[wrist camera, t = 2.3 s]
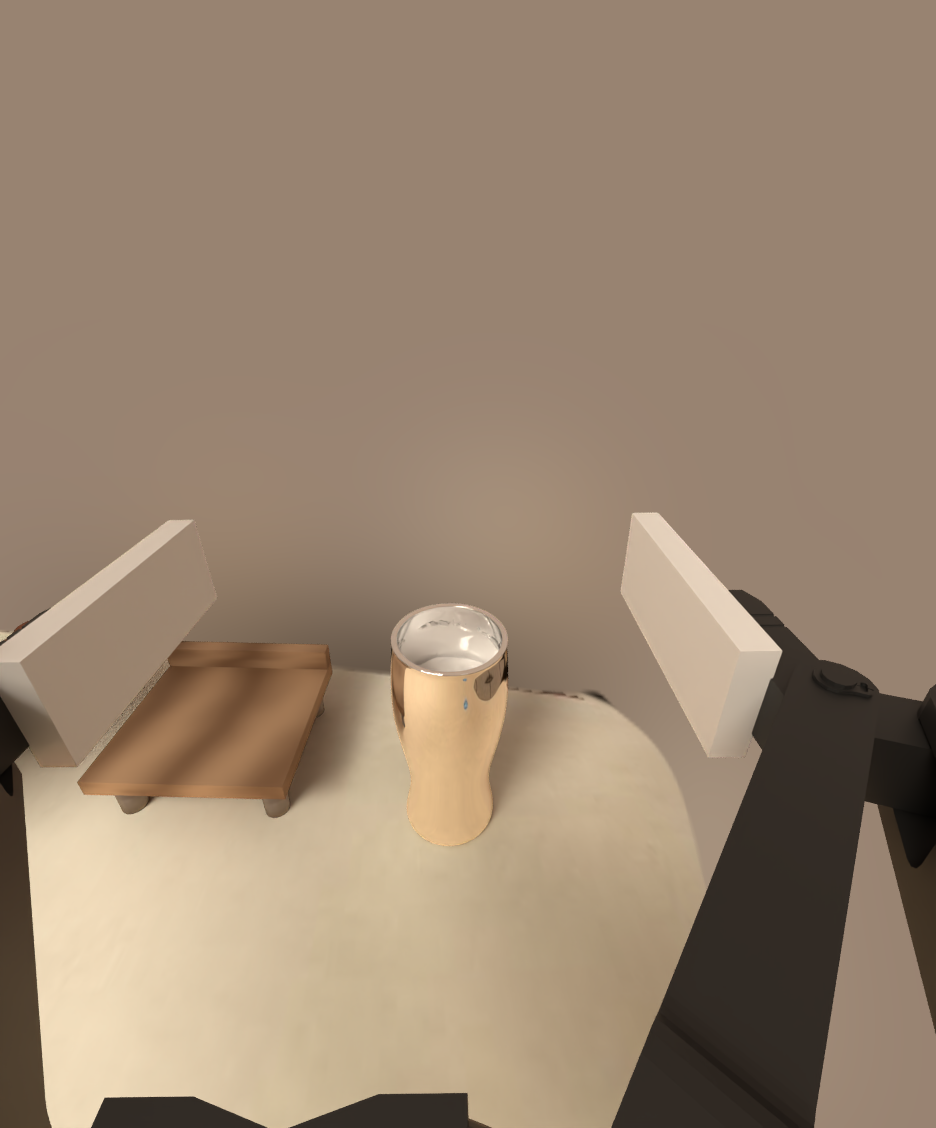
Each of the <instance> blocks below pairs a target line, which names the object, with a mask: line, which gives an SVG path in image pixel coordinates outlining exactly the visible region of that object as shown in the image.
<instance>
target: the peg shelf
mask: <svg viewBox="0 0 936 1128" xmlns="http://www.w3.org/2000/svg"><path fill="white" fill-rule="evenodd" d="M168 661H169V664H170V667H169V668H168V669H167V671H166V672H165V673H164V674H163V676H162V677H161V678H160V679H159V681H158V682H157V683H156V684H155V686H154V687H153V688H152V689H151V691H150V692H149V693H148V694H147V696H146V697H145V698H144V699H143V701H142V702H141V703H140V704H139V706H138V707H137V708H136V709H135V711H134V712H133V713H132V714H131V716H130V717H129V718H128V719H127V721H126V722H125V723H124V724H123V726H122V727H121V728H120V729H119V731H118V732H117V733H116V734H115V736H114V737H113V738H112V739H111V741H110V742H109V743H108V744H107V746H106V747H105V748H104V749H103V751H102V752H101V753H100V754H99V756H98V757H97V758H96V759H95V761H94V762H93V763H92V764H91V766H90V767H89V768H88V769H87V771H86V772H85V773H84V774H83V776H82V777H81V778H80V779H79V781H78V782H77V783H78V785H79V786H80V788H81V790H82V792H83V793H84V795H115V797H116V799H117V801H118V803H119V805H120V807H121V809H122V811H123V812H124V813H126V814H133V813H136V812H138V811H140V810H141V809H143V808H144V807H145V806H146V804H147V803H148V800H149V797H148V796H164V797H204V798H244V799H262V800H263V803H264V807H265V810H266V813H267V815H268V816H269V817H272V818H276V817H280V816H282V815H284V814H285V813H286V812H287V811H288V809H289V807H290V801H289V797H288V791H289V788H290V785H291V783H292V780H293V777H294V775H295V772H296V769H297V767H298V764H299V761H300V758H301V756H302V753H303V750H304V748H305V745H306V742H307V740H308V737H309V734H310V731H311V729H312V726H313V723H314V721H315V718H316V717H318V716H320V715H321V714H322V713H323V712H324V705H323V696H324V694H325V691H326V688H327V685H328V683H329V680H330V677H331V675H332V667H331V662H330V655H329V648H328V645H319V644H317V645H316V644H276V643H275V644H273V643H234V642H190V641H181V643H180V644H179V645H178V646H177V647H176V649H175V650H174V651H173V652H172V653H171V655H170V656H169V657H168Z"/></svg>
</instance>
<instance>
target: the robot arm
mask: <svg viewBox="0 0 936 1128" xmlns="http://www.w3.org/2000/svg"><path fill="white" fill-rule="evenodd" d="M621 594H622V596H623V598H624V600H625V601H626V603H627V605H628V607H629V609H630V611H631V613H632V615H633V616H634V619H635V620H636V622H637V624H638V626H639V628H640V630H641V632H642V634H643V635H644V637H645V639H646V641H647V643H648V645H649V647H650V649H651V651H652V652H653V654H654V656H655V658H656V660H657V662H658V664H659V666H660V668H661V669H662V671H663V673H664V675H665V677H666V679H667V681H668V683H669V685H670V686H671V688H672V690H673V692H674V694H675V696H676V698H677V700H678V702H679V703H680V705H681V707H682V709H683V711H684V713H685V715H686V717H687V719H688V720H689V722H690V724H691V726H692V728H693V730H694V732H695V734H696V736H697V737H698V739H699V741H700V743H701V745H702V747H703V749H704V751H705V753H706V754H707V756H708V758H722V757H723V758H732V757H745V756H746V753H747V751H748V748H749V745H750V742H751V739H752V737H753V736H754V738H755V740H756V741H757V743H758V744H759V746H760V747H761V749H762V753H761V755H760V758H759V761H758V763H757V765H756V768H755V770H754V773H753V775H752V778H751V780H750V783H749V786H748V788H747V790H746V793H745V796H744V798H743V800H742V803H741V806H740V808H739V811H738V813H737V816H736V818H735V821H734V823H733V826H732V829H731V831H730V833H729V836H728V838H727V841H726V843H725V846H724V849H723V851H722V853H721V856H720V858H719V861H718V863H717V866H716V869H715V871H714V874H713V876H712V879H711V881H710V884H709V886H708V889H707V891H706V894H705V896H704V899H703V901H702V904H701V906H700V909H699V911H698V914H697V916H696V919H695V921H694V924H693V926H692V929H691V931H690V934H689V937H688V939H687V942H686V944H685V947H684V949H683V952H682V954H681V957H680V959H679V962H678V964H677V967H676V969H675V972H674V974H673V977H672V979H671V982H670V984H669V987H668V989H667V992H666V994H665V997H664V999H663V1002H662V1004H661V1007H660V1009H659V1012H658V1014H657V1016H656V1018H655V1020H654V1022H653V1025H652V1027H651V1030H650V1032H649V1035H648V1037H647V1040H646V1042H645V1045H644V1047H643V1050H642V1052H641V1054H640V1057H639V1060H638V1062H637V1065H636V1067H635V1070H634V1072H633V1075H632V1077H631V1080H630V1082H629V1085H628V1087H627V1090H626V1092H625V1095H624V1097H623V1100H622V1102H621V1105H620V1107H619V1110H618V1112H617V1115H616V1117H615V1120H614V1122H613V1125H612V1127H611V1128H814V1122H815V1113H816V1106H817V1100H818V1093H819V1087H820V1080H821V1074H822V1068H823V1061H824V1055H825V1049H826V1042H827V1035H828V1030H829V1023H830V1017H831V1011H832V1004H833V998H834V991H835V985H836V979H837V972H838V966H839V960H840V954H841V947H842V941H843V934H844V928H845V922H846V915H847V909H848V903H849V896H850V890H851V884H852V877H853V871H854V864H855V858H856V852H857V845H858V839H859V833H860V827H861V820H862V813H863V807H864V801H866V802H871V803H874V804H877V805H878V809H879V813H880V817H881V820H882V824H883V828H884V832H885V836H886V840H887V844H888V848H889V852H890V856H891V860H892V864H893V868H894V871H895V876H896V879H897V883H898V887H899V891H900V895H901V899H902V903H903V907H904V911H905V915H906V919H907V922H908V927H909V930H910V934H911V938H912V942H913V946H914V950H915V954H916V957H917V962H918V966H919V970H920V974H921V978H922V981H923V985H924V989H925V993H926V997H927V1001H928V1005H929V1009H930V1013H931V1017H932V1021H933V1025H934V1029H935V1033H936V685H934V686H933V687H932V688H930V690H929V692H928V694H927V695H926V697H925V699H924V701H923V702H922V701H917V700H912V699H906V698H901V697H896V696H891V695H885V694H881V693H879V690H878V689H877V687H876V686H875V685H874V684H873V683H872V682H871V681H870V680H869V679H868V678H866V677H865V676H863V675H862V674H860V673H859V672H857V671H855V670H853V669H850V668H848V667H846V666H844V665H841V664H837V663H833V662H829V661H826V660H818V659H817V658H816V657H815V656H814V654H812V653H811V651H810V650H809V649H808V648H807V647H806V646H805V645H804V644H803V643H802V642H801V641H800V640H799V639H798V638H797V637H796V636H795V635H794V634H793V633H792V632H791V631H790V630H789V629H788V628H787V627H784V624H783V623H782V622H781V621H780V620H779V619H778V618H777V617H776V616H775V617H774V614H773V613H772V612H771V611H770V610H769V609H768V608H767V606H766V605H765V604H764V603H762V601H760V600H758V599H757V598H755V597H753V596H752V595H750V594H748V593H746V592H745V591H743V590H727V589H726V588H725V586H723V584H722V583H721V582H720V581H719V580H718V579H717V578H716V576H715V575H714V574H713V573H712V572H711V571H710V570H709V569H708V568H707V567H706V565H705V564H704V563H703V562H702V561H701V560H700V559H699V558H698V557H697V555H696V554H695V553H694V552H693V551H692V550H691V549H690V548H689V547H688V545H687V544H686V543H685V542H684V541H683V540H682V539H681V538H680V537H679V535H678V534H677V533H676V532H675V531H674V530H673V529H672V528H671V527H670V525H669V524H668V523H667V522H666V521H665V520H664V519H663V518H662V517H661V515H660V514H659V513H632V519H631V525H630V532H629V538H628V545H627V552H626V558H625V565H624V572H623V578H622V585H621ZM216 599H217V595H216V592H215V588H214V585H213V582H212V578H211V575H210V571H209V568H208V565H207V561H206V558H205V554H204V551H203V548H202V544H201V541H200V537H199V534H198V531H197V527H196V524H195V521H194V520H168V521H167V522H166V523H164V524H163V525H162V526H160V527H159V528H158V529H156V530H155V531H154V532H152V533H151V534H150V535H148V536H147V537H146V538H144V539H143V540H142V541H140V542H139V543H138V544H136V545H135V546H134V547H132V548H131V549H130V550H128V551H127V552H126V553H124V554H123V555H122V556H120V557H119V558H118V559H116V560H115V561H114V562H112V563H111V564H110V565H108V566H107V567H105V568H104V569H103V570H102V571H100V572H99V573H97V574H96V575H95V576H93V577H92V578H91V579H89V580H88V581H87V582H85V583H84V584H83V585H81V586H80V587H79V588H77V589H76V590H75V591H73V592H72V593H71V594H69V595H68V596H67V597H65V598H64V599H63V600H61V601H60V602H59V603H57V604H56V605H55V606H53V607H52V608H50V609H48V610H46V611H43V612H42V613H39V614H38V615H37V616H35V617H34V618H33V619H31V620H30V621H29V622H27V623H26V624H25V625H23V626H22V629H18V630H16V631H15V632H14V633H12V634H11V635H10V636H8V637H7V640H3V641H2V642H0V1128H52V1127H51V1124H50V1121H49V1117H48V1114H47V1109H46V1101H45V1089H44V1075H43V1061H42V1048H41V1034H40V1020H39V1006H38V992H37V978H36V964H35V950H34V936H33V922H32V908H31V895H30V881H29V867H28V853H27V839H26V825H25V811H24V797H23V783H22V774H21V772H20V770H19V768H18V767H17V765H16V764H15V762H14V761H15V760H16V759H17V758H18V757H19V756H20V755H21V754H22V753H23V752H24V751H25V750H26V749H27V748H28V747H29V749H30V750H31V752H32V754H33V755H34V757H35V759H36V760H37V762H38V764H39V765H40V767H78V766H79V764H80V763H81V762H82V761H83V760H84V758H85V757H86V756H87V755H88V754H89V752H90V751H91V750H92V749H93V747H94V746H95V745H96V744H97V743H98V741H99V740H100V739H101V738H102V737H103V735H104V734H105V733H106V732H107V731H108V729H109V728H110V727H111V726H112V725H113V723H114V722H115V721H116V720H117V719H118V717H119V716H120V715H121V714H122V713H123V711H124V710H125V709H126V708H127V706H128V705H129V704H130V703H131V702H132V700H133V699H134V698H135V697H136V696H137V694H138V693H139V692H140V691H141V690H142V688H143V687H144V686H145V685H146V684H147V682H148V681H149V680H150V679H151V678H152V676H153V675H154V674H155V673H156V671H157V670H158V669H159V668H160V667H161V665H162V664H163V663H164V662H165V661H166V659H167V658H168V657H169V656H170V655H171V653H172V652H173V651H174V650H175V649H176V647H177V646H178V645H179V644H180V643H181V641H182V640H183V639H184V638H185V636H186V635H187V634H188V633H189V632H190V630H191V629H192V628H193V627H194V626H195V624H196V623H197V622H198V621H199V619H200V618H201V617H202V616H203V615H204V614H205V612H206V611H207V610H208V609H209V607H210V606H211V605H212V604H213V603H214V601H215V600H216ZM91 1128H267V1127H264V1126H262V1125H260V1124H257V1123H255V1122H253V1121H250V1120H248V1119H245V1118H243V1117H241V1116H238V1115H236V1114H234V1113H231V1112H229V1111H226V1110H224V1109H222V1108H219V1107H217V1106H215V1105H212V1104H210V1103H207V1102H205V1101H203V1100H200V1099H198V1098H196V1097H120V1098H104V1100H103V1102H102V1105H101V1107H100V1109H99V1111H98V1114H97V1116H96V1118H95V1120H94V1122H93V1125H92V1127H91ZM290 1128H491V1127H489V1126H486V1125H484V1124H481V1123H479V1122H476V1121H474V1120H471V1119H469V1120H468V1094H467V1093H441V1094H378V1095H375V1096H373V1097H370V1098H367V1099H365V1100H362V1101H359V1102H357V1103H354V1104H351V1105H349V1106H346V1107H343V1108H341V1109H338V1110H335V1111H333V1112H330V1113H327V1114H325V1115H322V1116H319V1117H317V1118H314V1119H311V1120H309V1121H306V1122H303V1123H301V1124H298V1125H295V1126H293V1127H290Z"/></svg>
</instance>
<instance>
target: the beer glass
mask: <svg viewBox="0 0 936 1128" xmlns="http://www.w3.org/2000/svg"><path fill="white" fill-rule="evenodd" d="M507 645H508V635H507V632H506V629H505V627H504V626H503V624H502V623H501V622H500V621H499V620H498V619H497V618H496V617H495V616H494V615H492V614H491V613H489V612H487V611H485V610H483V609H480V608H477V607H474V606H470V605H465V604H457V603H443V604H435V605H430V606H426V607H422V608H420V609H417V610H415V611H413V612H411V613H409V614H408V615H406V616H405V617H403V618H402V619H401V620H400V621H399V622H398V623H397V625H396V626H395V627H394V629H393V632H392V635H391V700H392V708H393V716H394V721H395V725H396V729H397V733H398V736H399V739H400V743H401V746H402V749H403V752H404V755H405V758H406V760H407V764H408V767H409V770H410V776H411V785H410V789H409V793H408V798H407V815H408V819H409V821H410V823H411V825H412V827H413V828H414V830H415V831H416V832H417V833H418V834H419V835H420V836H421V837H422V838H424V839H425V840H427V841H429V842H431V843H434V844H437V845H442V846H456V845H461V844H464V843H467V842H469V841H471V840H473V839H474V838H476V837H477V836H478V835H479V834H480V833H481V832H482V831H483V830H484V829H485V828H486V826H487V824H488V823H489V821H490V818H491V815H492V811H493V798H492V792H491V787H490V783H489V771H490V767H491V763H492V760H493V757H494V754H495V751H496V748H497V745H498V742H499V738H500V735H501V732H502V727H503V723H504V719H505V715H506V706H507V698H508V653H507V652H508V651H507Z"/></svg>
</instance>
